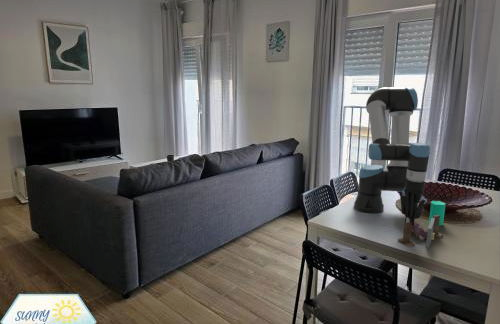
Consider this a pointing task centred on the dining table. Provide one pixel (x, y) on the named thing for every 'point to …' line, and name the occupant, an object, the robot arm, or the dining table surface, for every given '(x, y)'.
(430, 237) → the door
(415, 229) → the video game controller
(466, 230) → the dining table surface
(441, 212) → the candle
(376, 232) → the dining table surface
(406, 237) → the brown bent pieces
